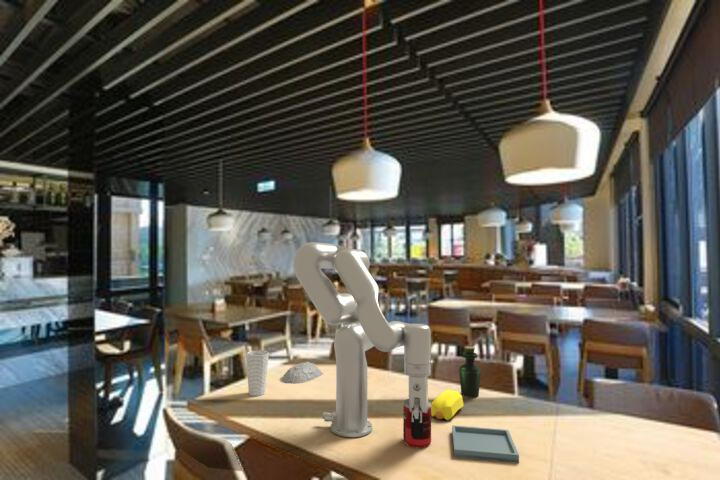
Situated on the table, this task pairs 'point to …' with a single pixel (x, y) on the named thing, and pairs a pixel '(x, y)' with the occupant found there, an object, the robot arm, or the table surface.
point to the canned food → (407, 419)
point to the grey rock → (301, 373)
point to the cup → (257, 371)
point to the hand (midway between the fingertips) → (417, 429)
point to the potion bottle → (469, 374)
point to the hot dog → (446, 404)
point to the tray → (484, 444)
